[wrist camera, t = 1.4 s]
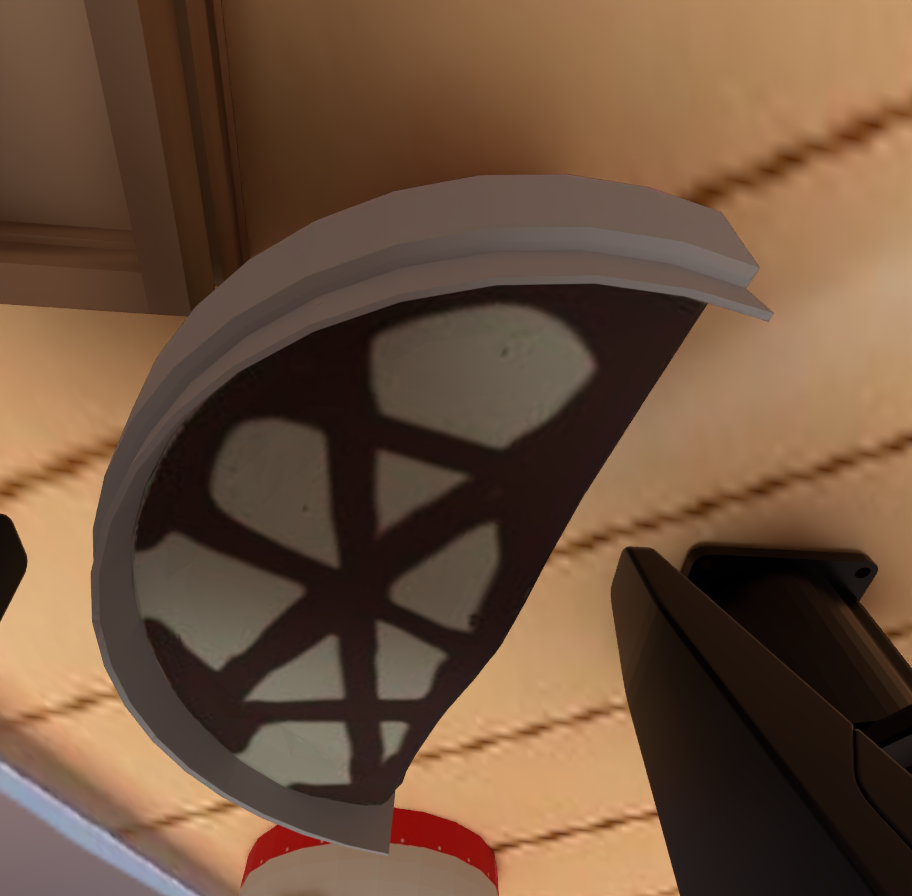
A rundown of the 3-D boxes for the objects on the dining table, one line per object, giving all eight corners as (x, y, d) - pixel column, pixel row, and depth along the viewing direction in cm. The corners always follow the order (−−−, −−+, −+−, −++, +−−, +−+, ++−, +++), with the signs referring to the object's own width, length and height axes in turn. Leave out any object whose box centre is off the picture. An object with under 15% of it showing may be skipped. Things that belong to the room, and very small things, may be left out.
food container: (325, 21, 12) (54, -99, 4) (585, 143, 14) (814, 257, 5) (222, 472, 18) (30, 812, 10) (408, 527, 20) (379, 869, 11)
